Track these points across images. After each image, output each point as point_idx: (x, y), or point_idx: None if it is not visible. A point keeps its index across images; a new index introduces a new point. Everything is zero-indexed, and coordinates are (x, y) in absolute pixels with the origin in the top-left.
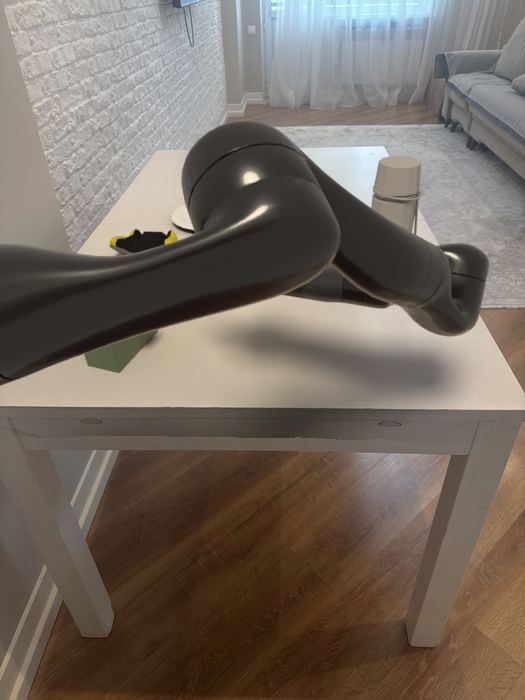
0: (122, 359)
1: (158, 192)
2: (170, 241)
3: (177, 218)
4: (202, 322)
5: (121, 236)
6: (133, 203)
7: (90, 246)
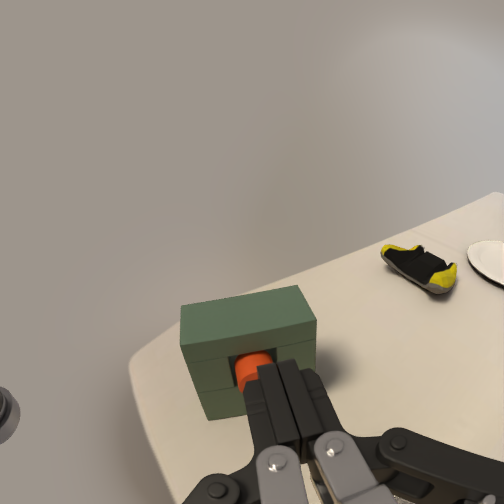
0: (218, 411)
1: (474, 220)
2: (439, 277)
3: (473, 251)
4: (375, 429)
5: (398, 247)
6: (447, 221)
7: (376, 244)
